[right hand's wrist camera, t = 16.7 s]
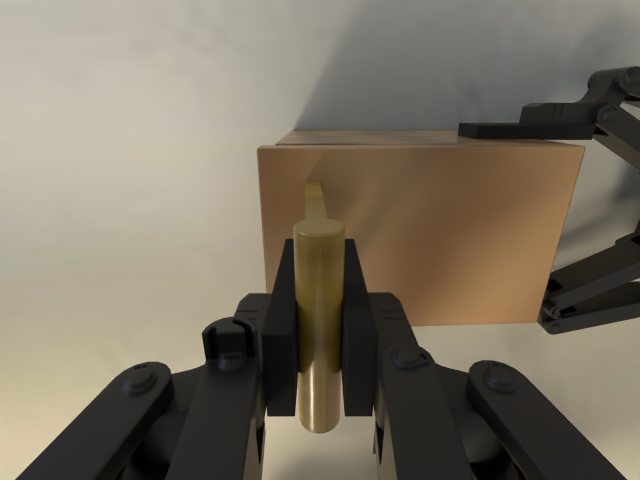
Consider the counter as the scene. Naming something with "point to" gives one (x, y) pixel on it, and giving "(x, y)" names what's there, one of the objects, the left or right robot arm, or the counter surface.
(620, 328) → the counter surface
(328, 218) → the lid
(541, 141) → the chest
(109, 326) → the counter surface
